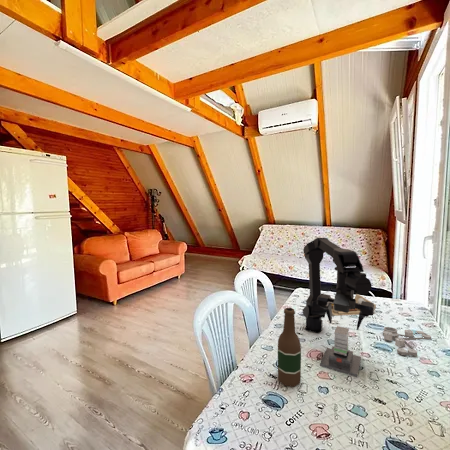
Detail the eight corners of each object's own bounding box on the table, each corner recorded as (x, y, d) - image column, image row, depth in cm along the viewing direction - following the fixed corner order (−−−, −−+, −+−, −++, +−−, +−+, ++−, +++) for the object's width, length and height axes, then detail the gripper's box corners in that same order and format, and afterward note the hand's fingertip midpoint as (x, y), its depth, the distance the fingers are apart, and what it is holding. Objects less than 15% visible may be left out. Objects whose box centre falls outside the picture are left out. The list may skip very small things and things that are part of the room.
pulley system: (370, 346, 107) (414, 361, 96) (370, 335, 107) (413, 348, 96) (394, 328, 125) (433, 339, 113) (394, 318, 125) (433, 328, 113)
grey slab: (333, 353, 94) (334, 332, 93) (336, 346, 99) (336, 325, 98) (346, 357, 92) (346, 335, 91) (348, 349, 96) (348, 328, 96)
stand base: (319, 365, 94) (320, 356, 93) (327, 350, 104) (327, 341, 103) (357, 377, 87) (357, 367, 87) (360, 359, 97) (361, 350, 97)
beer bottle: (297, 391, 81) (297, 316, 79) (273, 382, 85) (273, 311, 83) (303, 376, 88) (304, 307, 86) (281, 369, 92) (282, 303, 90)
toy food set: (356, 302, 155) (357, 289, 154) (376, 315, 137) (377, 300, 136) (315, 303, 153) (315, 290, 153) (329, 316, 135) (329, 302, 134)
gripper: (313, 286, 94) (312, 328, 95) (372, 296, 83) (370, 343, 85) (320, 279, 103) (319, 317, 104) (375, 287, 93) (373, 329, 94)
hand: (343, 326), depth 97 cm, fingers open, 9 cm apart
